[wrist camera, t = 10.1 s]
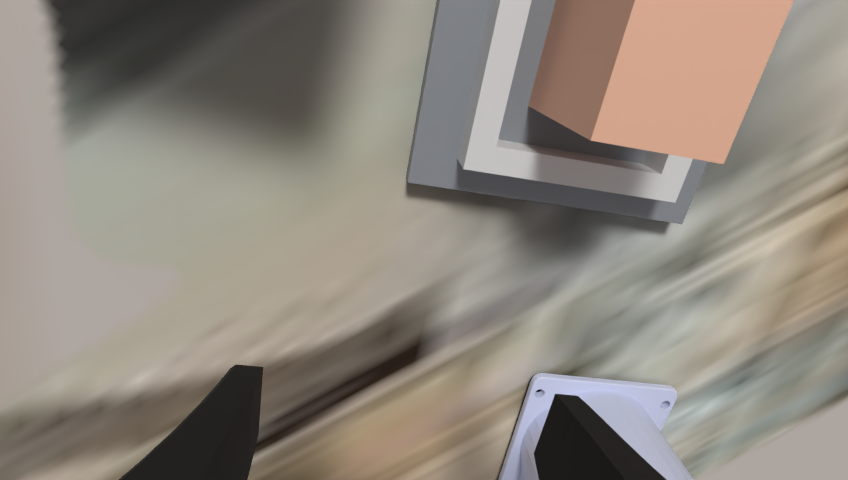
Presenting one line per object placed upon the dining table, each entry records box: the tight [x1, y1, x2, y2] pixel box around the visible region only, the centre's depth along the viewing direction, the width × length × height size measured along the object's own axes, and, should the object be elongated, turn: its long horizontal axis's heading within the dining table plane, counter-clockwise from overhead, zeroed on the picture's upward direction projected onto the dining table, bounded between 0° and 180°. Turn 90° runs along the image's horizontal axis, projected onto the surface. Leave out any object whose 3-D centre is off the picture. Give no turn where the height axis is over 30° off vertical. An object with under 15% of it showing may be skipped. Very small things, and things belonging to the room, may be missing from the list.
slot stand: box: [406, 0, 708, 224], centre depth 17 cm, size 14×12×2 cm
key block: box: [528, 0, 794, 164], centre depth 15 cm, size 4×7×6 cm, turn 169°
